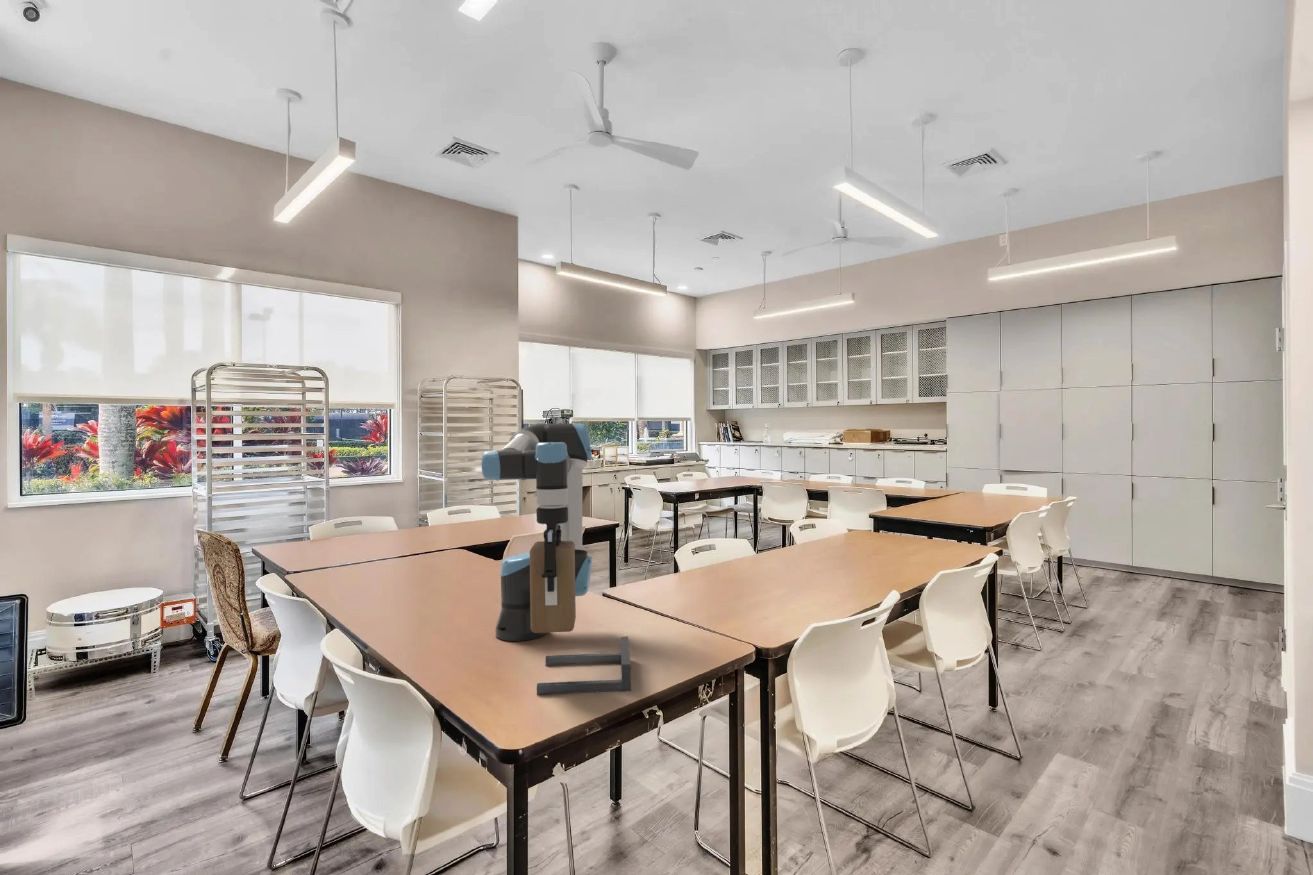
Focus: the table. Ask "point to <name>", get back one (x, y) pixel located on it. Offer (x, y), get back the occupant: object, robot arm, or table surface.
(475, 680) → the table surface
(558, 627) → the wooden block
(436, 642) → the table surface
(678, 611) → the table surface
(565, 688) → the end stop channel
